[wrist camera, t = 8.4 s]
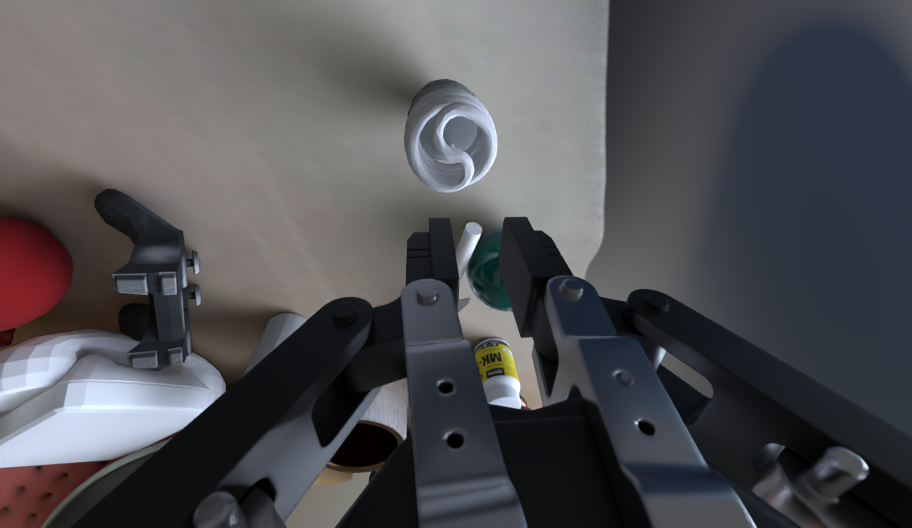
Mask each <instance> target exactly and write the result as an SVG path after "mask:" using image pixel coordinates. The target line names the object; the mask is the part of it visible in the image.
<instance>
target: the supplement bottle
mask: <svg viewBox="0 0 912 528" xmlns="http://www.w3.org/2000/svg"><path fill="white" fill-rule="evenodd" d="M474 355H475V358H476V362H477V365H478V369H479V373H480V376H481V380H482V384H483V387H484V391H485V394H486V398H487V402H488V404H494V405H500V406H506V407H511V408H517V409H520V408H521V401H520V397H519V391H520V383H519V379H518V375H517V372H516V368H515V364H514V360H513V356H512V353H511V349H510V346H509V344H508V343H507V342H506V341H504V340H502V339H499V338H488V339H485V340H483V341H481V342H480V343H479V344H477V346H476V347H475V349H474Z"/></svg>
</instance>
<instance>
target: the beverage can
mask: <svg viewBox="0 0 912 528" xmlns="http://www.w3.org/2000/svg"><path fill="white" fill-rule="evenodd" d="M306 321H307V319H306V318H304V317H303V316H301V315H299V314H296V313H282V314H278V315H276V316H274V317H273V318H271V319H270V320H269V322H268V324H267V327H266V329H265V331H264V333H263V335H262V337H261V339H260V341H259V343H258V346H257V348H256V350H255V352H254V354H253V356H252V358H251V360H250V363H249V365H248V367H247V369H246V371H245V373H244V375H245V374H246V373H247V372H249V371H250V370H251V369H252V368H253V367H254V366H255V365H257V364H258V363H259V362H260V361H261V360H262V359H263V358H265V357H266V356H267V355H268V354H269V353H270V352H271V351H273V350H274V349H275V348H276V347H277V346H278V345H280V344H281V343H282V342H283V341H284V340H285V339H286V338H288V337H289V336H290V335H291V334H292V333H293V332H294V331H296V330H297V329H298V328H299V327H300V326H301V325H302V324H304V323H305V322H306ZM244 375H243V376H244Z"/></svg>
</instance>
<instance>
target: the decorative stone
mask: <svg viewBox="0 0 912 528" xmlns="http://www.w3.org/2000/svg"><path fill="white" fill-rule="evenodd" d="M15 329H16V328H13V329H10V330H6V331H0V348H2V347H5V346H8V345H11V343H12V339H13V336H14V333H15Z"/></svg>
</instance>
